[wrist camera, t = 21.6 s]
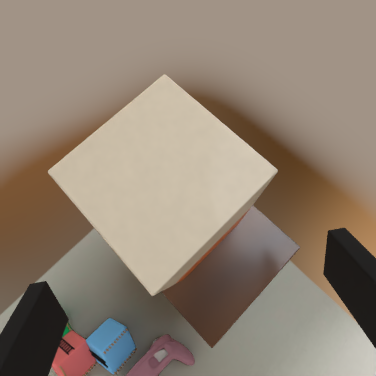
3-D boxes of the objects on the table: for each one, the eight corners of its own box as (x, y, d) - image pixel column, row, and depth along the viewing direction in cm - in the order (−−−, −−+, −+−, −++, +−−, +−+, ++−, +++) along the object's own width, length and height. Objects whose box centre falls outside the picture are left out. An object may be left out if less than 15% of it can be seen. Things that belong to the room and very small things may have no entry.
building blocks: (92, 320, 43) (139, 349, 35) (43, 364, 37) (86, 411, 29) (71, 281, 40) (117, 303, 32) (16, 322, 35) (55, 361, 27)
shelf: (250, 257, 39) (300, 247, 18) (208, 303, 38) (211, 348, 17) (184, 195, 43) (163, 126, 22) (144, 235, 41) (80, 201, 20)
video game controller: (180, 332, 38) (157, 325, 33) (200, 360, 35) (179, 356, 30) (130, 388, 37) (99, 389, 32) (147, 422, 34) (115, 429, 29)
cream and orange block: (238, 223, 19) (278, 170, 9) (183, 279, 18) (152, 297, 8) (185, 172, 21) (164, 73, 10) (131, 222, 20) (46, 171, 9)
